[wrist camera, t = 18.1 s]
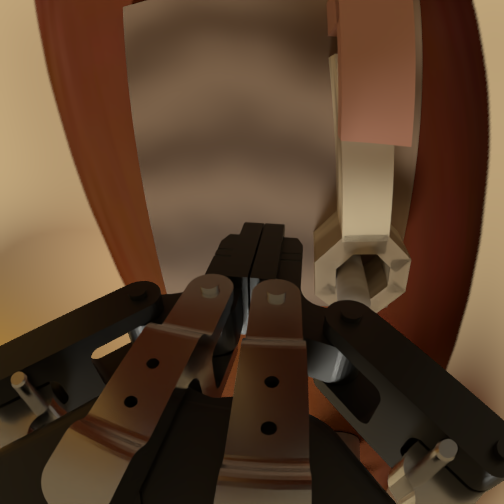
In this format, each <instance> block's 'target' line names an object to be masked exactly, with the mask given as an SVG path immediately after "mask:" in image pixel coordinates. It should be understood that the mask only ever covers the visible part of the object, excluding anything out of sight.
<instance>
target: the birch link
mask: <svg viewBox="0 0 504 504" xmlns="http://www.w3.org/2000/svg"><path fill="white" fill-rule="evenodd" d="M329 68H330V78H331V90H332V102H333V117H334V134H335V155H336V192H337V210H336V211H335V212H334V213H333V214H332V215H331V216H330V217H329V218H328V219H327V220H326V221H325V222H324V223H323V224H322V225H321V226H320V227H319V228H317V229H316V230H315V231H314V232H313V239H314V288H315V295H316V296H317V297H319V298H320V299H321V300H323V301H324V302H325V303H327V304H328V305H329V306H330V305H331V304H332V303H334V302H336V301H337V292H336V269H337V268H338V267H339V266H340V265H342V264H343V263H344V262H345V261H346V260H348V259H349V258H350V257H351V256H352V255H359V254H377V255H376V256H375V257H374V258H373V259H371V260H370V261H369V262H368V263H367V264H365V265H364V266H363V269H364V273H365V278H366V282H367V286H368V291H369V296H370V300H371V305H370V309H372V310H373V311H374V312H375V313H377V312H378V311H380V310H381V309H383V308H384V307H385V306H387V305H388V304H389V303H391V302H392V301H393V300H395V299H396V298H397V297H399V296H400V295H401V294H403V293H404V292H405V289H406V284H407V279H408V273H409V268H410V262H411V258H410V256H409V254H408V251H407V249H406V247H405V245H404V243H403V241H402V239H401V237H400V235H399V233H398V231H397V230H396V229H395V228H394V227H393V226H392V225H391V224H390V223H391V211H392V196H393V177H394V145H387V144H376V143H364V142H350V141H341V140H340V138H339V137H338V54H334V55H332V56H331V57H329Z"/></svg>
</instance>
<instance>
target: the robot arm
mask: <svg viewBox="0 0 504 504" xmlns="http://www.w3.org/2000/svg"><path fill="white" fill-rule="evenodd" d="M302 259H303V245H302V243H301V242H300V240H299V239H298V238H290V237H285V224H272V223H265V224H264V223H254V222H245V223H244V225H243V227H242V230H241V232H240V234H229V235H228V236H227V237H225V238H224V239H223V240H221V242H220V244H219V246H218V249H217V250H216V252H215V256H214V257H213V259H212V261H211V263H210V265H209V267H208V269H207V271H206V273H205V275H201V276H199V277H196V278H195V279H193V280H192V281H191V282H190V283H189V284H188V285H187V287H186V288H185V290H184V291H183V292H181V293H173V294H164V295H161V291H160V288H159V287H158V285H156V284H155V283H152V282H148V281H139V282H134V283H131V284H129V285H127V286H124V287H122V288H120V289H118V290H116V291H114V292H112V293H109V294H107V295H105V296H103V297H101V298H99V299H97V300H94V301H92V302H90V303H88V304H86V305H84V306H82V307H80V308H78V309H75V310H73V311H71V312H69V313H67V314H65V315H63V316H61V317H59V318H57V319H55V320H53V321H50V322H48V323H46V324H44V325H42V326H40V327H38V328H36V329H34V330H32V331H30V332H28V333H26V334H24V335H22V336H20V337H17V338H16V339H13V340H11V341H9V342H7V343H5V344H4V345H1V346H0V504H396V503H395V501H394V500H393V499H392V498H391V497H390V496H389V495H388V493H387V492H386V491H385V490H384V489H383V488H382V487H381V485H380V484H379V483H378V482H377V481H376V480H375V478H374V477H373V476H372V475H371V474H370V472H369V471H368V470H367V469H366V468H365V467H364V465H363V464H362V463H361V462H360V442H359V439H358V438H357V437H356V436H354V435H352V434H348V433H343V432H335V431H334V430H333V429H332V428H331V427H330V426H328V425H327V424H325V423H324V422H323V421H321V420H319V419H317V418H316V417H314V416H312V415H309V402H308V376H310V377H312V378H313V380H314V383H315V385H316V387H317V388H318V389H319V390H320V391H321V392H322V393H323V395H324V396H325V397H326V398H327V399H328V400H329V401H330V402H331V404H332V405H333V406H334V407H335V408H336V409H337V410H338V411H339V412H340V413H341V415H342V416H343V417H344V418H345V419H346V420H347V421H348V422H349V423H350V424H351V425H352V427H353V428H354V429H355V430H356V431H357V432H358V433H359V434H360V435H361V436H362V437H363V438H364V440H365V441H366V442H367V443H368V444H369V445H370V446H371V447H372V448H373V449H374V450H375V451H376V452H377V453H378V454H379V455H380V457H381V458H382V459H383V460H384V461H385V462H386V463H387V464H388V465H389V466H390V467H391V470H390V472H389V475H388V486H389V489H390V492H391V493H392V495H393V496H394V497H395V499H396V502H397V504H475V503H476V502H477V501H478V499H479V498H480V497H481V496H482V494H483V493H485V492H487V491H488V490H490V489H491V488H493V487H495V486H496V485H497V484H499V483H501V482H502V481H504V420H502V419H501V418H500V417H499V416H498V415H497V414H496V413H495V412H493V411H492V410H491V409H490V408H489V407H488V406H487V405H485V404H484V403H483V402H482V401H481V400H480V399H478V398H477V397H476V396H475V395H474V394H473V393H471V392H470V391H469V390H468V389H467V388H466V387H465V386H463V385H462V384H461V383H460V382H459V381H458V380H456V379H455V378H454V377H453V376H452V375H450V374H449V373H448V372H447V371H446V370H445V369H443V368H442V367H441V366H440V365H439V364H437V363H436V362H435V361H434V360H433V359H431V358H430V357H429V356H428V355H427V354H425V353H424V352H423V351H422V350H421V349H419V348H418V347H417V346H416V345H415V344H413V343H412V342H411V341H410V340H408V339H407V338H406V337H405V336H404V335H402V334H401V333H400V332H399V331H397V330H396V329H395V328H394V327H393V326H391V325H390V324H389V323H388V322H386V321H385V320H384V319H383V318H381V317H380V316H379V315H378V314H376V313H375V312H374V311H373V310H372V309H370V308H369V307H368V306H366V305H365V304H363V303H360V302H358V301H354V300H340V301H336V302H334V303H332V304H331V305H330V306H328V308H324V307H321V306H318V305H315V304H313V303H311V302H310V301H308V300H307V299H306V298H305V297H304V296H303V294H302V292H301V277H302ZM126 333H128V334H129V337H130V339H131V343H128V344H127V345H125V346H123V347H121V348H119V349H117V350H115V351H113V352H111V353H109V354H107V355H105V356H104V357H102V358H99V359H92V358H91V355H92V353H93V352H94V350H96V349H97V348H99V347H101V346H103V345H105V344H107V343H109V342H111V341H112V340H114V339H116V338H118V337H120V336H122V335H124V334H126ZM241 334H246V338H243V339H242V343H241V349H240V355H239V362H238V368H237V375H236V381H235V388H234V394H233V397H221V396H222V393H223V390H224V388H225V385H226V382H227V380H228V377H229V374H230V371H231V369H232V366H233V363H234V361H235V358H236V355H237V352H238V345H237V344H238V342H239V338H240V335H241Z"/></svg>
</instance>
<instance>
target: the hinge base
mask: <svg viewBox="0 0 504 504" xmlns="http://www.w3.org/2000/svg"><path fill="white" fill-rule="evenodd" d="M327 1H328V0H146V1H143V2H139V3H135V4H132V5H129V6H125V7H123V20H124V38H125V52H126V64H127V75H128V85H129V94H130V103H131V111H132V119H133V126H134V133H135V140H136V147H137V153H138V159H139V165H140V171H141V177H142V182H143V188H144V193H145V199H146V204H147V209H148V214H149V219H150V223H151V228H152V233H153V237H154V242H155V246H156V251H157V255H158V259H159V263H160V268H161V272H162V276H163V280H164V284H165V288H166V291H167V294H173V293H181V292H183V291H184V290H185V288H186V287H187V285H188V284H189V283H190V282H191V281H192V280H193V279H195V278H196V277H199V276H201V275H205V273H206V271H207V269H208V267H209V265H210V263H211V261H212V259H213V257H214V256H215V252H216V250H217V249H218V246H219V244H220V242H221V240H223V239H224V238H225V237H227V236H228V235H229V234H240V232H241V230H242V227H243V225H244V223H245V222H254V223H264V224H265V223H272V224H285V237H290V238H298V239H299V240H300V242H301V243H302V245H303V259H302V277H301V292H302V294H303V296H304V297H305V298H306V299H307V300H308V301H310V302H311V303H313V304H315V305H318V306H329V305H328V304H327V303H325V302H324V301H323V300H321V299H320V298H319V297H317V296H316V295H315V288H314V239H313V232H314V231H315V230H316V229H317V228H319V227H320V226H321V225H322V224H323V223H324V222H325V221H326V220H327V219H328V218H329V217H330V216H331V215H332V214H333V213H334V212H335V211H336V210H337V192H336V155H335V134H334V117H333V102H332V90H331V78H330V68H329V57H331V56H332V55H334V54H338V44H337V37H334V36H328V24H327V6H326V4H327ZM413 7H414V23H415V53H416V73H415V105H414V121H413V134H412V145H411V147H406V146H397V145H394V177H393V196H392V211H391V223H390V224H391V225H392V226H393V227H394V228H395V229H396V230H397V231H398V233H399V235H400V237H401V239H402V241H403V240H404V235H405V230H406V225H407V220H408V214H409V208H410V202H411V196H412V190H413V183H414V176H415V168H416V160H417V151H418V141H419V130H420V117H421V100H422V26H421V10H420V0H413ZM376 255H377V254H359V255H352V256H351V257H350V258H349V259H348V260H346V261H345V262H344V263H343V264H342V265H340V266H339V267H338V268H337V269H336V292H337V301H340V300H354V301H358V302H360V303H363V304H365V305H366V306H368V307H369V308H370V305H371V300H370V296H369V291H368V286H367V282H366V278H365V273H364V269H363V266H364V265H365V264H367V263H368V262H369V261H370V260H371V259H373V258H374V257H375V256H376ZM387 306H388V305H387ZM387 306H385V307H387Z"/></svg>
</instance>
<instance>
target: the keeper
mask: <svg viewBox="0 0 504 504" xmlns="http://www.w3.org/2000/svg"><path fill="white" fill-rule="evenodd" d="M326 6H327V24H328V36H334V37H337V44H338V137H339V138H340V140H341V141H350V142H364V143H376V144H387V145H397V146H406V147H411V145H412V134H413V121H414V105H415V73H416V53H415V23H414V7H413V0H328V1H327V4H326Z"/></svg>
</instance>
